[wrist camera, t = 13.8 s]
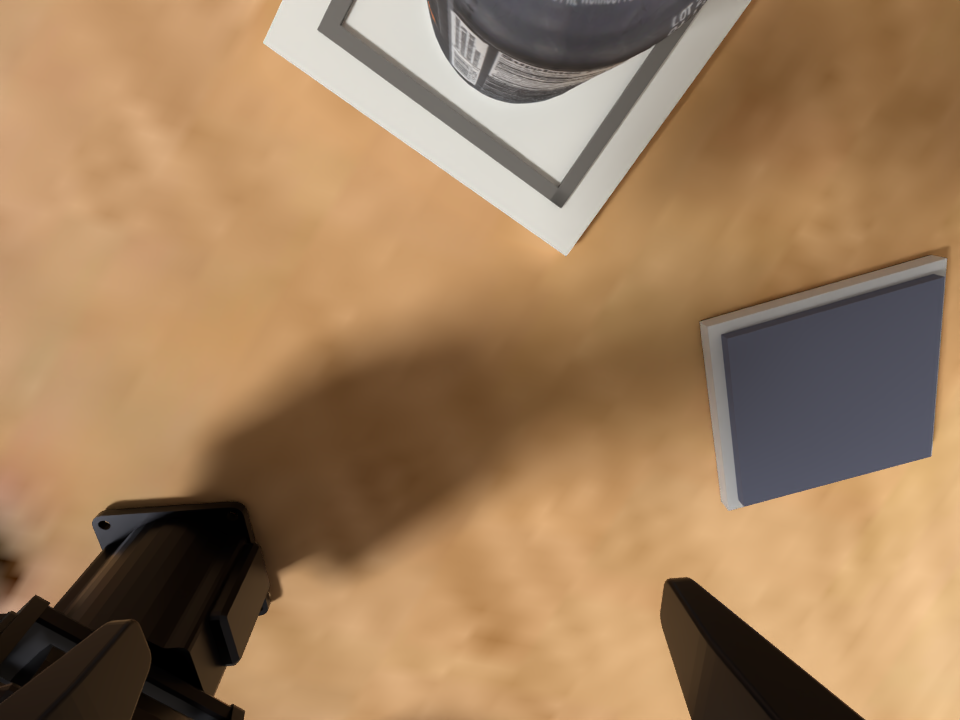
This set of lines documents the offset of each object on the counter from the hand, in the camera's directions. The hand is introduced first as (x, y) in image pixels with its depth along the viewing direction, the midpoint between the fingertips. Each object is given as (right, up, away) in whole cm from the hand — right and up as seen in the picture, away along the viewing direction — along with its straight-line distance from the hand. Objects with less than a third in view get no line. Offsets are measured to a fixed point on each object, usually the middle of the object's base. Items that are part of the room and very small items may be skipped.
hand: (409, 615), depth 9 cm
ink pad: (+16, +3, +14) cm, 22 cm away
